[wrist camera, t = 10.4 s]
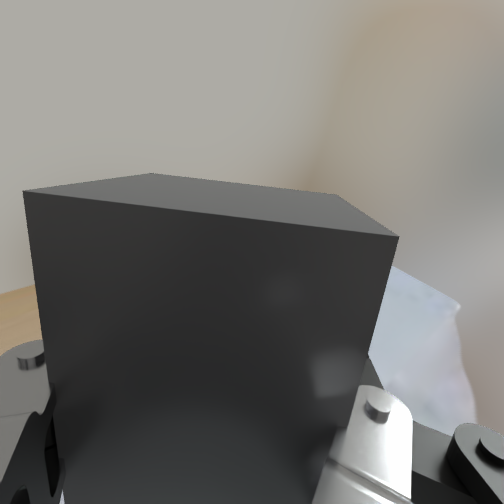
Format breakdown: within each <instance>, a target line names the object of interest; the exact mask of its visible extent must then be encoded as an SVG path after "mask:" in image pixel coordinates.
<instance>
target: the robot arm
mask: <svg viewBox="0 0 504 504" xmlns="http://www.w3.org/2000/svg"><path fill="white" fill-rule="evenodd" d="M56 403H57V399H56V392H55V384H54V383H51V382H48V376H47V369H46V361H45V354H44V346H43V340H35V341H30V342H27V343H23V344H21V345H18V346H16V347H14V348H12V349H10V350H8V351H7V352H5V353H4V354H2V355H1V356H0V504H59V502H60V498H61V494H62V490H63V485H64V481H65V477H66V469H65V461H64V458H58V450H57V443H56V435H55V428H54V421H53V412H54V409H55V406H56ZM312 504H504V436H503V435H501V434H500V433H498V432H496V431H494V430H492V429H489V428H487V427H484V426H481V425H477V424H471V423H466V424H461V425H459V426H458V427H457V428H456V429H455V432H454V434H453V436H449V435H446V434H444V433H441V432H439V431H436V430H434V429H431V428H429V427H426V426H424V425H421V424H419V423H417V422H415V421H413V420H412V417H411V414H410V412H409V410H408V409H407V407H406V406H405V405H404V404H403V403H402V402H401V401H400V400H399V399H398V398H397V397H395V396H394V395H393V394H391V393H389V392H387V391H385V390H384V389H383V386H382V384H381V382H380V380H379V377H378V375H377V373H376V371H375V369H374V366H373V364H372V362H371V360H370V359H369V355H368V354H367V358H366V362H365V366H364V369H363V373H362V377H361V380H360V384H359V388H358V391H357V395H356V399H355V403H354V406H353V410H352V414H351V417H350V421H349V425H348V427H341V426H338V427H337V430H336V434H335V437H334V440H333V443H332V446H331V450H330V453H329V456H328V457H327V458H326V461H325V464H324V467H323V470H322V473H321V476H320V479H319V483H318V486H317V489H316V492H315V495H314V498H313V501H312Z"/></svg>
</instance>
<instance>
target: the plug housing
mask: <svg viewBox="0 0 504 504" xmlns="http://www.w3.org/2000/svg"><path fill="white" fill-rule="evenodd" d="M23 198H24V205H25V213H26V220H27V228H28V234H29V242H30V250H31V257H32V264H33V271H34V280H35V287H36V294H37V302H38V309H39V317H40V324H41V331H42V339H43V346H44V354H45V361H46V369H47V376H48V382H51V383H54V384H55V392H56V399H57V403H56V406H55V409H54V412H53V421H54V428H55V435H56V443H57V450H58V458H64V461H65V469H66V477H65V481H64V485H63V495H64V502H65V504H312V501H313V498H314V495H315V492H316V489H317V486H318V483H319V479H320V476H321V473H322V470H323V467H324V464H325V461H326V458H327V457H328V456H329V453H330V450H331V446H332V443H333V440H334V437H335V434H336V430H337V427H338V426H341V427H348V425H349V421H350V417H351V414H352V410H353V406H354V403H355V399H356V395H357V391H358V388H359V384H360V380H361V377H362V373H363V369H364V366H365V362H366V358H367V354H368V351H369V347H370V343H371V340H372V336H373V332H374V329H375V325H376V321H377V317H378V314H379V310H380V306H381V303H382V299H383V295H384V292H385V288H386V284H387V280H388V277H389V273H390V269H391V266H392V262H393V258H394V255H395V251H396V247H397V243H398V240H399V236H397V235H396V234H395V233H393V232H392V231H390V230H388V229H387V228H386V227H384V226H383V225H381V224H380V223H378V222H377V221H375V220H374V219H372V218H370V217H369V216H368V215H366V214H365V213H363V212H362V211H360V210H359V209H357V208H356V207H354V206H353V205H351V204H350V203H348V202H347V201H345V200H344V199H342V198H341V197H339V196H338V195H335V194H326V193H317V192H309V191H299V190H291V189H282V188H274V187H265V186H257V185H249V184H240V183H231V182H222V181H213V180H205V179H197V178H188V177H180V176H171V175H163V174H154V173H149V174H142V175H134V176H127V177H120V178H112V179H105V180H98V181H91V182H83V183H76V184H68V185H61V186H54V187H47V188H39V189H33V190H25V191H23Z"/></svg>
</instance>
